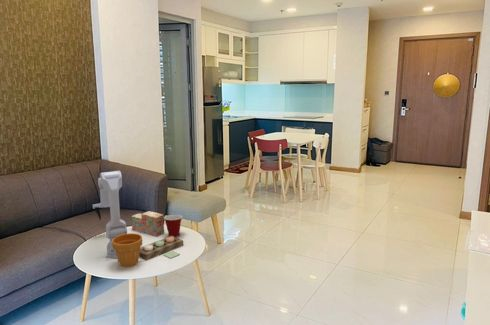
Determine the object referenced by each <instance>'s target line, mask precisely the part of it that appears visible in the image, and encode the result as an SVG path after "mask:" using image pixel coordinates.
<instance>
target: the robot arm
mask: <svg viewBox="0 0 490 325" xmlns="http://www.w3.org/2000/svg"><path fill="white" fill-rule="evenodd" d="M97 179H98V180H97V184H98V188H99V196H100V197H99V198H100V202H99V203H95V204H92V209H94V211H95V212H96V214H97V216H98V218H99V220H101V219H102V218H101V217H102V215H101V208H103V209H104V208H109V210H110V220H109V221H108V222H107V223H106V225H105V234H106V239H108V240H109V242H108V243H107V244H106V251H107V255H106V258H111V259H118V257H117V254H116V251H115V250H114V249H113V245H112V240H113V239H114V238H115V237H117V236H119V235H123V234H128V228H127V224H126V221H125V220H123V219H121V214H120V210H121V209H120V196H119V192H120V189H121V188H122V187H123V176H122V172H121V171H120V170H114V171H105V172H100V174H99V177H98V178H97Z"/></svg>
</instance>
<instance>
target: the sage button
mask: <svg viewBox="0 0 490 325" xmlns="http://www.w3.org/2000/svg"><path fill="white" fill-rule="evenodd" d="M161 240H162V239H160V241H159V240H156V241H154V242H155V243H156V247H158V248H159V247H162V246H164V241H161Z"/></svg>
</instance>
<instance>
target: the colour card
mask: <svg viewBox="0 0 490 325" xmlns="http://www.w3.org/2000/svg"><path fill="white" fill-rule="evenodd" d="M162 255H163V257H165V258H167V259H173V258H176V257H178V256H180V255H181V254H180V253H178V252H177V251H174V250H171V251H168V252H166V253H163V254H162Z"/></svg>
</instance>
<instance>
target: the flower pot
mask: <svg viewBox="0 0 490 325" xmlns="http://www.w3.org/2000/svg"><path fill="white" fill-rule="evenodd" d="M112 245H113V249H114V250H115V251H116V254H117V257H118V258H117V260H118V263H119V266H121V267H124V268H130V267H133V266H136V265H138V263H139V260H140V257H139V254H140V247H143V236H142V235H141V234H138V233H132V232H131V233H127V234H123V235H119V236H117V237H115V238H114V239H113V240H112Z"/></svg>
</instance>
